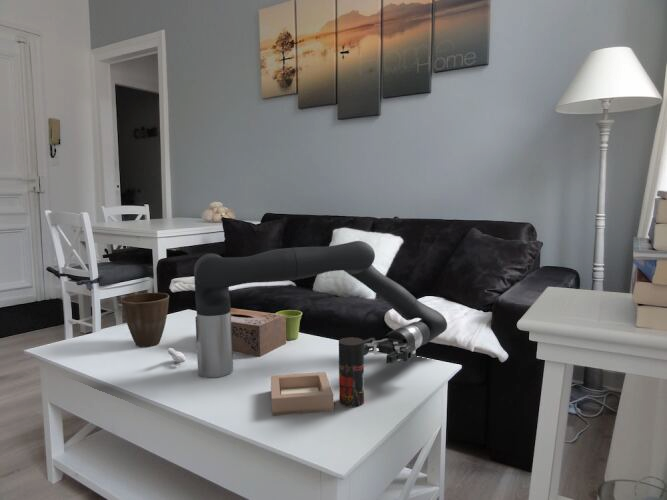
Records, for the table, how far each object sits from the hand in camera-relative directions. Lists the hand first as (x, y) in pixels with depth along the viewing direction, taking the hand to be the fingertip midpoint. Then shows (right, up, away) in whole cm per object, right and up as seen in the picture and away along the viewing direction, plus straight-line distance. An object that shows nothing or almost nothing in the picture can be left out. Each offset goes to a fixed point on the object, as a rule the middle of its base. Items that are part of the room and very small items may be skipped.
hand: (373, 356), depth 124 cm
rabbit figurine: (-56, -7, +20) cm, 60 cm away
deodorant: (-6, -10, -7) cm, 13 cm away
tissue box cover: (-40, -5, +38) cm, 56 cm away
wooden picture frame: (-18, -9, -5) cm, 21 cm away
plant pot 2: (-25, -4, +45) cm, 51 cm away
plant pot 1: (-72, -5, +40) cm, 83 cm away
